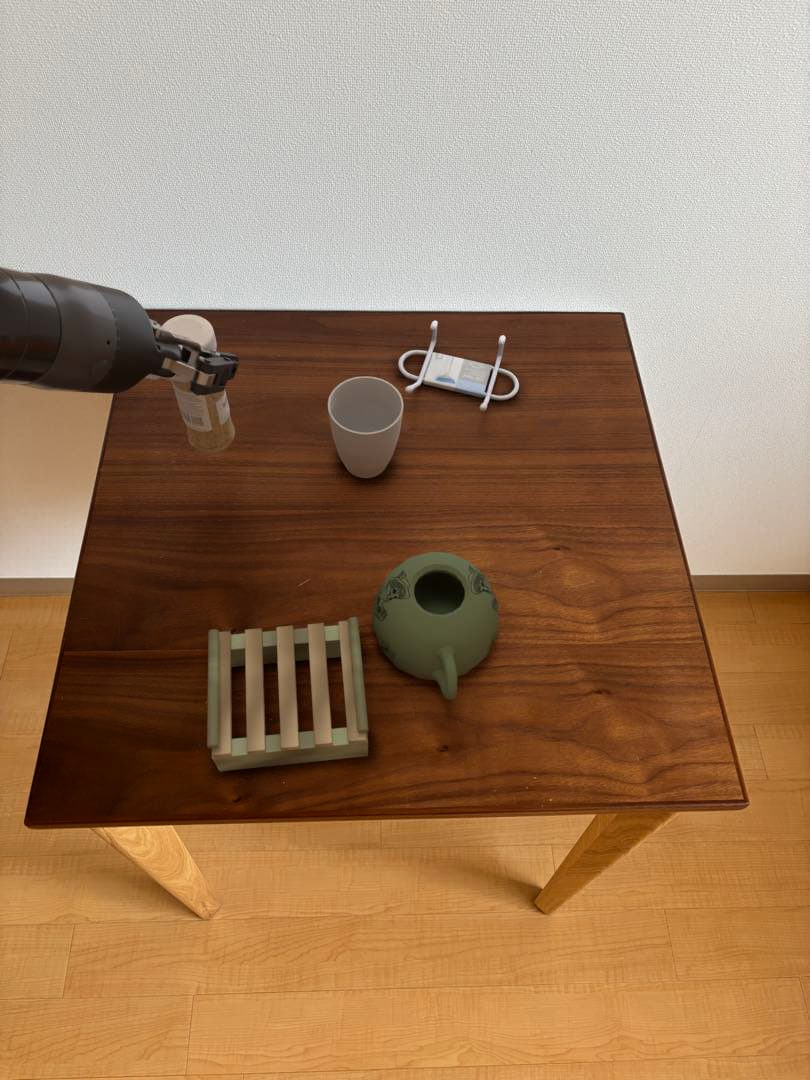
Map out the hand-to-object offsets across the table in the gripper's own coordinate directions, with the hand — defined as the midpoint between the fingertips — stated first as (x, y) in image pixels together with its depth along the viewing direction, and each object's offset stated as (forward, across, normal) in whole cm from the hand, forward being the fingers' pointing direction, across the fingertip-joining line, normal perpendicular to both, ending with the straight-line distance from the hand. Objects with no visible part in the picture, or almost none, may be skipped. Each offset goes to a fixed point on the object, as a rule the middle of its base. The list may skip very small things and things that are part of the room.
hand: (207, 355), depth 71 cm
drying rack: (+6, -18, +28) cm, 34 cm away
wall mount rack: (+37, -12, -3) cm, 39 cm away
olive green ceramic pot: (+15, -26, +19) cm, 36 cm away
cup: (+26, -8, +8) cm, 29 cm away
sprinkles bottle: (+5, 0, +8) cm, 10 cm away
